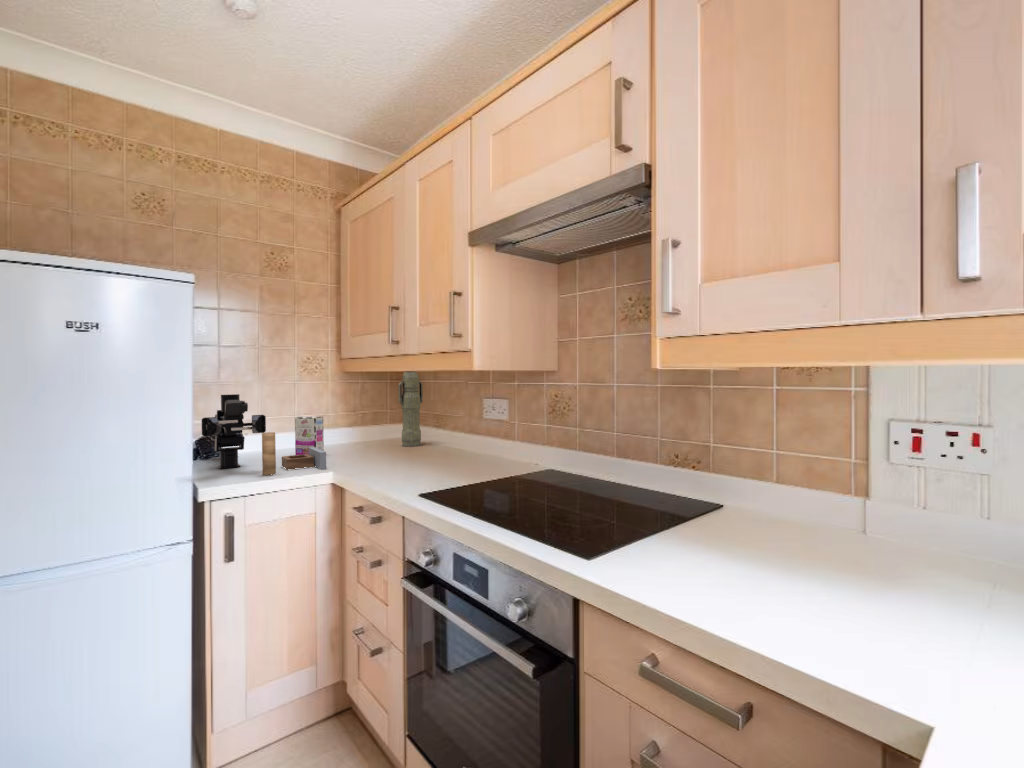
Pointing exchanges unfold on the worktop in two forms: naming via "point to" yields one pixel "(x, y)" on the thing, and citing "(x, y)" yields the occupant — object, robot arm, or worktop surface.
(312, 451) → the backstop wall
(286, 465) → the socket block
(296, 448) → the candy bar box
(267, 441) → the dowel
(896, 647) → the worktop surface
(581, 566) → the worktop surface
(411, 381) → the green stone statue
